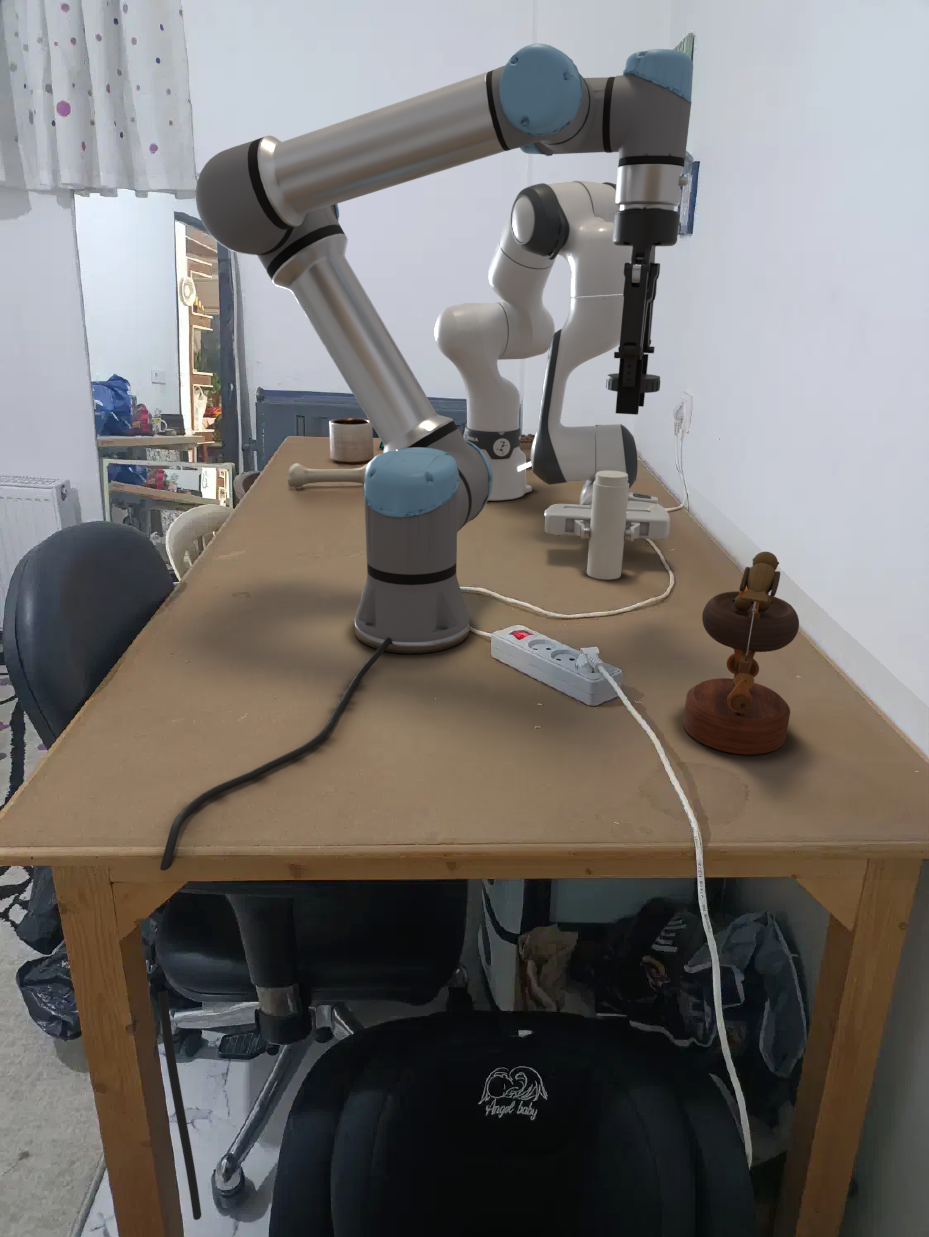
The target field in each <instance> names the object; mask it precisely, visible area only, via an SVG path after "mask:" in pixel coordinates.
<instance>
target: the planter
mask: <svg viewBox="0 0 929 1237" xmlns="http://www.w3.org/2000/svg"><path fill="white" fill-rule="evenodd" d="M328 424H329V425H328V426H329V453H330V454H329V455H330V456H329V457H330V459H331V460H332V461H333V462H335V463H341V464H363V463H367V462H368V463H369V462H370V461H371V460H372V459H373V458H375V455H374V452H375V451H374V450H375V449H374V430H373V429H374V428H373V426H372V424H371V423H370V421H369V419H368V418H362V417H361V418H360V417H342V418H341V417H340V418H335V419H334V418H333V419H331V420H329V421H328Z"/></svg>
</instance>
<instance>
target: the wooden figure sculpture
mask: <svg viewBox="0 0 929 1237" xmlns="http://www.w3.org/2000/svg"><path fill="white" fill-rule="evenodd" d="M778 560H779V559H777V556H776V555H775V554H774V553H773V552H770V551H761V552H758V553H757V554H756V555H755V556H754V557H753V558H752V566H751V567H750V566H745V568H744V572H743V574H742V578H741V581H740V585H739V588H738V589H739V590H738V591H737V590H735V591H734V590H733V591H726V592H722V593H718V594H716V595H714V596H712V598H710V599H709V600H708V602H707V603H706V604H705V606H704V608H703V610H702V614H701V615H702V617H701V619H702V620H701V621H702V625H703V628H704V630H705V632H706V633H707V634H708V635H709V637H711V639H712V640H714V641H716V642H717V643H719V644H721V645H722V646H725V647H728V648H731V649H733V652H734V653H732V654H730V655H729V656H728V657H727V659H726V668H727V670H728V671H729V672H730V673H732V674H733V678H729V677H728V678H727V677H724V678H723V677H721V678H719V677H718V678H710V679H706V680H703V681H701V682H699V683H697V684H696V685H694V686H692V687H691V688H690V689H689V690H687V693H686V698H685V705H684V713H683V720H682V722H683V723H682V724H683V727H684V729H685V731H686V732H687V733H688V734H689V735H690V737H692V738H693V739H695V740H696V741H697V742H699V743H701V744H703V745H705V746H707V747H709V748H712V749H715V750H719V751H721V752H725V753H726V752H727V753H730V754H738V755H761V754H762V755H763V754H767V753H771V752H773V751H777V750H778V749H780V748H781V747H782V746H783V745H784V743H785V742H786V738H787V732H788V727H789V722H790V717H791V716H790V715H791V708H790V706H789V704H788V703H787V701H785V699H784V698H783V697H782V696H781V695H780V694H779V693H777V692H776V691H774V690H773V689H771V688H769V687H767V686H765V685H763V684H760V683H758V682H755V679H754V678H756V677H757V675H758V674H759V672H760V666H759V663H758V661H757V660H756V659H755V658H754V657H755V655H756V653H768V652H774V651H778V650H782V649H783V648H785V647H786V646H788V645H790V644H791V642H793V641H794V639H795V638H796V637H797V634H798V633H799V629H800V619H799V616H798V613H797V611H796V610H795V608H794V607H793V606H792V605H791V604H790V603H789V602H787V601H786V600H784V599H781V598H779V597H776V594H777V591H778V588H779V583H780V579H781V571H778V570H777V569H778V566H779V565H780V561H778Z"/></svg>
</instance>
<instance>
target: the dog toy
mask: <svg viewBox="0 0 929 1237" xmlns="http://www.w3.org/2000/svg"><path fill="white" fill-rule="evenodd" d="M368 464H369V462H368V463H366V464H364V465H363V466H361V467H357V468H323V469H322V468H319V469H318V468H317V469H316V468H308V467H305V466H304V465H302V464H301V463H298V462H297V463H296V462H295V463H294V464H293V463H292V464H291V465H290V467H289V469H288V471H287V472H288V473H287V474H288V476H287V478H286V479H287V483H288V486H289V487H294V488H300V487H302V486H305V485H308V484H316V483H355V484H363V485H364V483H365V471H366V467H367V465H368Z"/></svg>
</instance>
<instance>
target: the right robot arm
mask: <svg viewBox="0 0 929 1237" xmlns="http://www.w3.org/2000/svg"><path fill="white" fill-rule="evenodd" d="M615 196H616V183H613V182H609V181H606V182H605V181H604V182H595V181H589V180H588V181H587V180H586V181H585V180H572V181H564V182H555V183H549V184H547V183H543V182H541V183H537V184H533V185H530V186H527V187H524V188H523V189H521V190H520V192H518V193H517V195H516V197H515V199H514V201H513V204H512V206H511V211H510V212H509V215H508V217H507V219H506V221H505V223H504V226H503V228H502V230H501V234H500V236H499V238H498V241H497V245H496V247H495V250H494V253H493V256H492V259H491V261H490V264H489V267H488V272H487V273H488V274H487V276H488V281H489V285H490V287H491V289H492V291H493V292H494V293H495V295H496V296H498V298H499V299H501V300H499V301H496V302H464V303H459V304H455V305H451V306H447V307H445V308H443V309H442V310H441V312H440V313H439V315H438V316H437V319H436V321H435V325H434V339H435V342H436V346H437V347H438V349H439V351H440V352H441V354H442V355H443V356H444V357H446V358H447V359H448V360H449V361H450V362H451V363H452V364H453V365H454V366H455V368H456V370H457V371H458V373H459V375H460V376H461V379H462V381H463V385H464V389H465V398H466V420H467V423H466V424H465V422H464V421H463V426H464V427H463V428H461V430H460V433H461V434H462V436H463V438H464V440H466V441H468V442H471V443H473V444H474V445H476V446H477V447H478V448H479V449H480V450H481V451H482V452H483V453H484V455H485V456H486V458H487V459H488V461H489V464H490V467H491V470H492V477H493V483H492V490H491V494H490V496H489V499H488V501H506V500H507V501H509V500H514V499H518V498H521V497H523V496H524V495H525V494H527V493H531V492H532V491H533V488H532V486H531V485H530V484H527V468H530V467H531V469H532V473H533V474H534V475H535V476H536V477H537V478H538V479H539V480H541V481H542V482H543V483H545V484H547V485H550V486H551V485H558V484H566V483H568V482H584V484H583V486H582V488H581V491H580V494H579V504H573V503H554V504H551V505H550V506H548V508H547V509H545V510H544V512H543V516H544V517H545V518H544V532H545V533H547V534H549V535H557V536H559V535H560V536H576V537H577V536H579V537H580V540H589V539H590V530H591V528H590V524H591V511H592V498H593V484H594V481H596V476H595V474H596V473H597V472H599V471H620V472H624V473H627V474H628V481H627V482H628V483H629V489H631V488H632V486H633V485H634V483H635V482H636V481H637V477H638V476H637V475H638V467H639V466H638V465H639V464H638V463H639V462H638V450H637V444H636V441H635V436H634V435H633V434H632V433H631V431H630V430H629V429H628V428H627V427H626V426H625V425H623V424H622V423H619V424H618V423H616V424H613V423H611V424H595V425H578V426H565V425H563V424H562V422H561V420H562V413H563V407H564V401H565V393H566V388H567V387H566V386H567V382H568V379H569V376H570V375H571V373H573V371H575V370H576V368H577V367H579V366H580V365H582V364H584V363H586V362H587V361H590V360H592V359H594V358H597V357H599V356H601V355H603V354H607V353H609V352H610V351H612V350H614V349H615V348H617V347H619V346H620V335H621V324H622V313H623V302H624V297H623V292H624V283H625V278H624V265H625V263H630V259H631V251H632V246H618V245H615V244H614V243H613V230H614V216H615V214H616V213H617V211H619V210H620V207H619V206H617V205H616V204H615ZM558 256H560V257H562V258H564V259H565V260H566V262H567V263H568V266H569V273H570V284H569V285H570V287H569V288H570V289H569V290H570V291H569V292H570V294H569V297H570V298H569V305H570V306H569V310H568V313H567V317H566V320H565V322H564V324H563V325H562V328H560V329H559V330H557V331H556V325H555V320H554V318H553V315H552V313H551V312H550V311H549V310H548V308H546V306H545V305H544V302H543V295H544V291H545V287H546V285H547V282H548V279H549V276H550V274H551V271H552V269H553V267H554V265H555V262H556V259H557V257H558ZM547 352H548V353H547ZM545 353H547V360H546V366H545V371H544V377H543V383H542V386H543V387H542V392H541V399H540V406H539V414H538V422H537V428H536V431H535V434H534V435H535V437H534V440H533V444H532V448H531V462H528V463H526V456H525V454H524V453H523V452H522V451H521V450H520V448H519V446H520V442H521V435H522V434H521V433H522V432H521V430H522V429H521V428H520V408H521V393H520V391H519V389H518V387H517V386H516V385H515V384H514V383H513V382H512V381H511V380H509V379H507V378H505V377H503V376H502V375H501V373H500V371H499V366H498V361H503V360H526V359H529V358H534V357H538V356H541V355H544V354H545ZM670 529H671V517H670V514H669V513H668V511H667V510H666V508H665V507H664V506H662V505H661V504H659V498H658V497H656V496H652V495H647V494H641V493H636V492H633V491H629V493H628V504H627V515H626V526H625V536H624V542H634V540H657V541H664V540H667V539H668V538H669V537H670V536H669V535H670Z"/></svg>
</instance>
